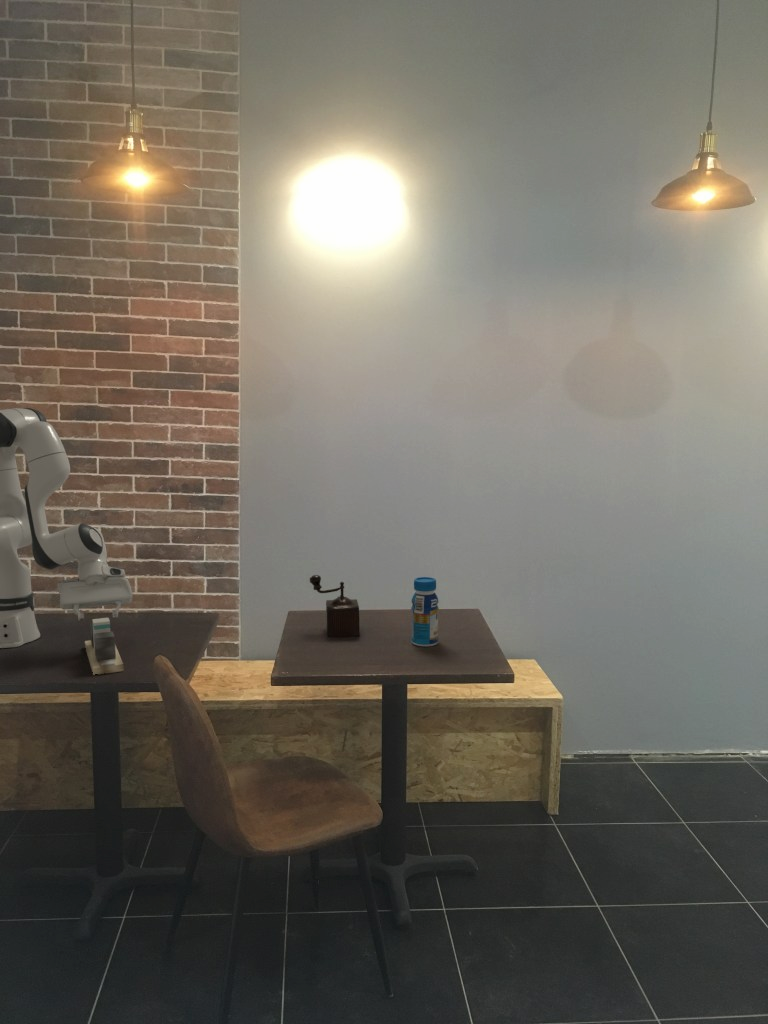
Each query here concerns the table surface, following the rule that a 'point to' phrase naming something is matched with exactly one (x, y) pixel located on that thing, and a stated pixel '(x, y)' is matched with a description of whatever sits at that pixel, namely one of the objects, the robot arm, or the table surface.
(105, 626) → the block
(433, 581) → the beverage bottle
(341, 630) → the manual coffee grinder
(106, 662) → the rail board
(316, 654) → the table surface
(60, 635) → the table surface
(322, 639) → the table surface
